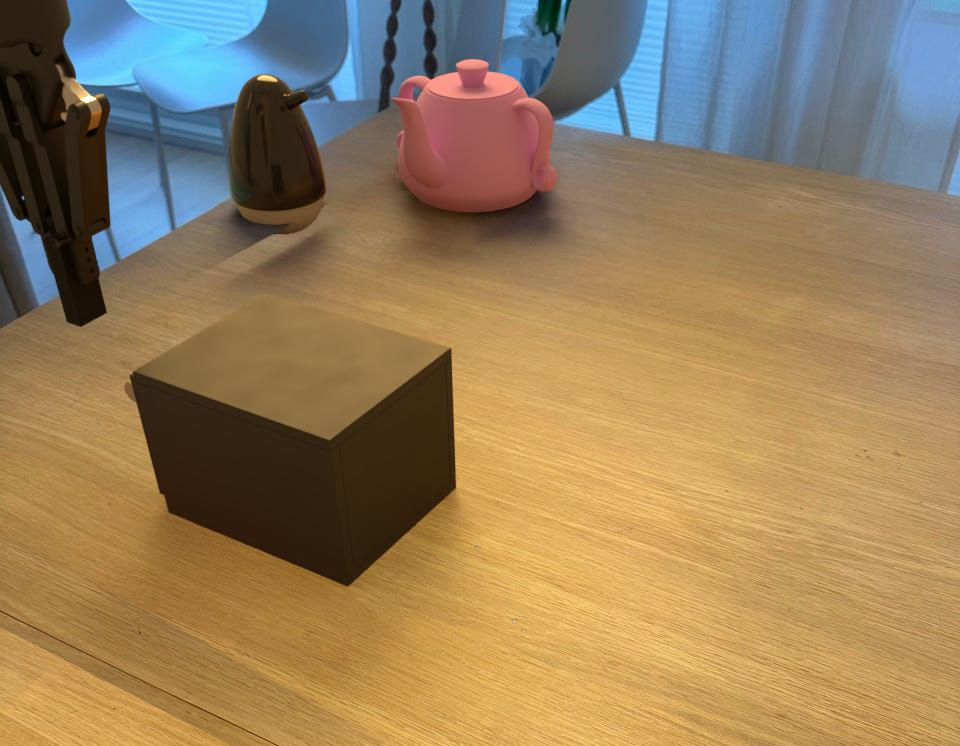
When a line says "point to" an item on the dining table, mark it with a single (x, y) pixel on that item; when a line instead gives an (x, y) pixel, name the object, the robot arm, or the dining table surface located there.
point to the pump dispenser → (274, 157)
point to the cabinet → (302, 433)
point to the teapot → (473, 140)
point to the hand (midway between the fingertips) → (87, 317)
